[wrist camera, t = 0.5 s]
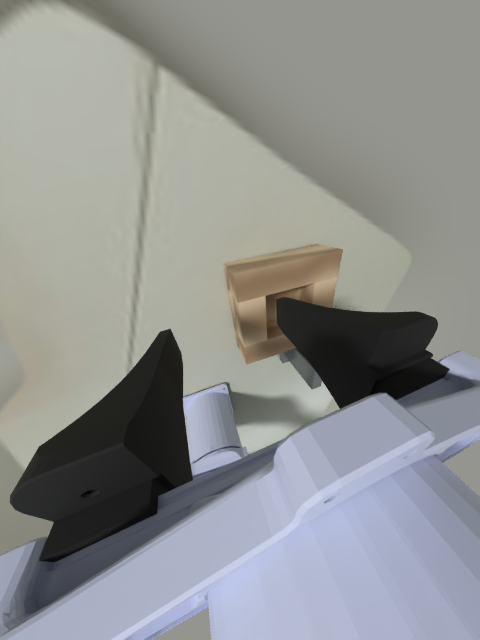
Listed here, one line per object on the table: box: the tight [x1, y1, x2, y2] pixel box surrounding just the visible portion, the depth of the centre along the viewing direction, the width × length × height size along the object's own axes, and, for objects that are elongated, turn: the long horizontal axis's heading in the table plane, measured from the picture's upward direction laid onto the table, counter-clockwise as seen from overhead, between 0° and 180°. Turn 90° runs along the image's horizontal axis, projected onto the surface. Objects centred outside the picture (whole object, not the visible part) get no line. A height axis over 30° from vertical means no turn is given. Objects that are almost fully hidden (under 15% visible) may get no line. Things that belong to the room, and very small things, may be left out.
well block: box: [224, 244, 343, 364], centre depth 22 cm, size 12×12×4 cm
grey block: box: [280, 348, 322, 389], centre depth 27 cm, size 4×4×7 cm
